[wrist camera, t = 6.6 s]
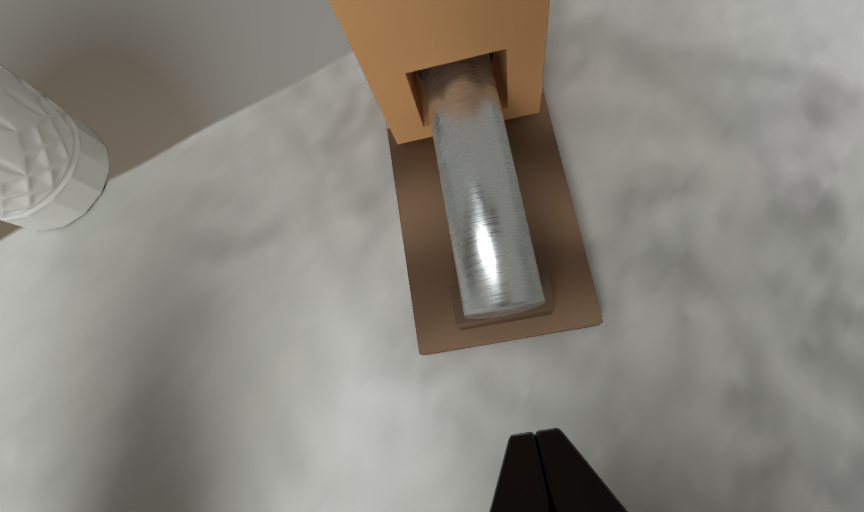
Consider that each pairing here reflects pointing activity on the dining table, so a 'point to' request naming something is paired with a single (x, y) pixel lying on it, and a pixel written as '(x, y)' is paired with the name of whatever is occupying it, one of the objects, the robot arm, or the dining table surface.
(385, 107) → the tan block
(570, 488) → the robot arm
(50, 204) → the white cup
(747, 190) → the dining table surface
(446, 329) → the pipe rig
